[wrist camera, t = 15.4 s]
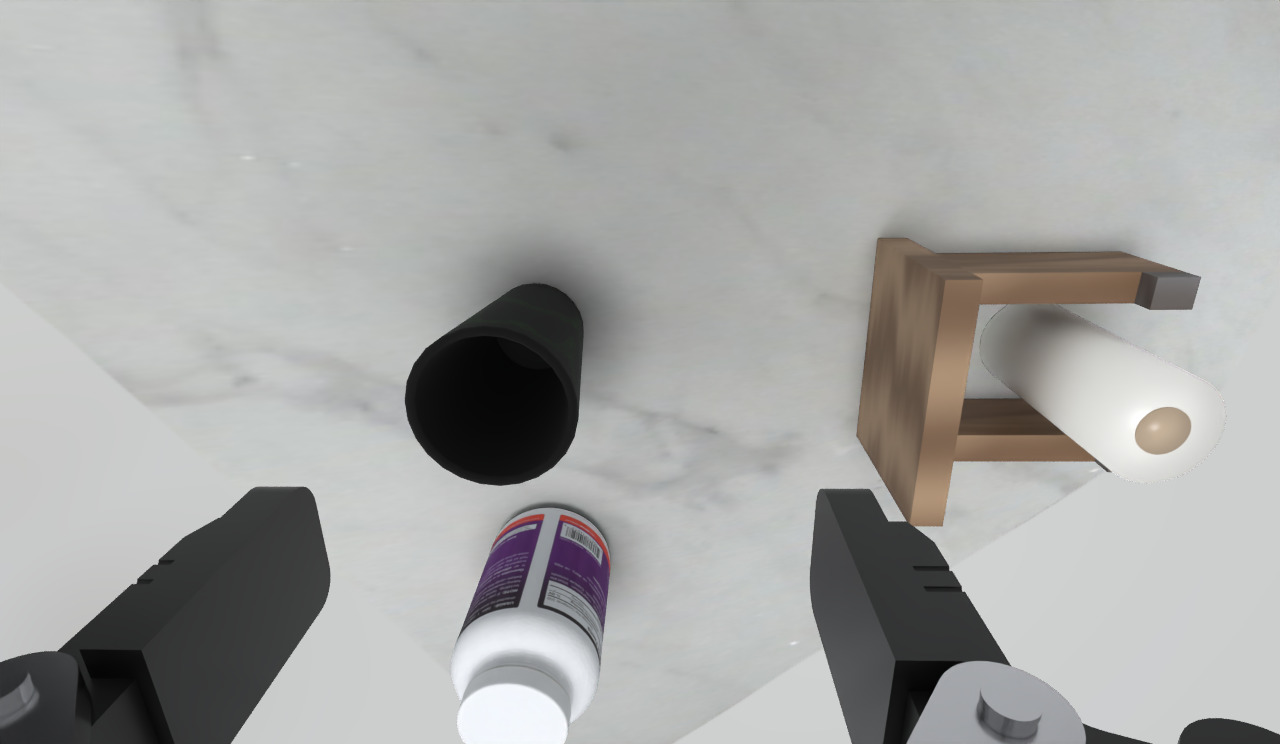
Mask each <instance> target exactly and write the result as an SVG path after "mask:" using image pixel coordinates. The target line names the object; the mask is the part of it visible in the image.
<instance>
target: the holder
mask: <svg viewBox="0 0 1280 744" xmlns="http://www.w3.org/2000/svg"><path fill="white" fill-rule="evenodd" d="M1200 279H1201V277H1199V276H1196V275H1193V274H1190V273H1186V272H1183V271H1180V270H1177V269H1174V268H1171V267H1168V266H1164V265H1161V264H1158V263H1155V262H1152V261H1149V260H1146V259H1142V258H1139V257H1136V256H1133V255H1130V254H1127V253H1124V252H1035V253H938V254H935V253H933V252H931V251H930V250H928V249H926V248H924V247H922V246H920V245H919V244H917V243H915V242H913V241H911V240H909V239H907V238H878V241H877V250H876V260H875V269H874V278H873V288H872V297H871V306H870V315H869V325H868V334H867V343H866V353H865V362H864V371H863V381H862V390H861V399H860V409H859V418H858V427H857V437H858V439H859V441H860V442H861V444H862V446H863V448H864V449H865V451H866V453H867V454H868V456H869V458H870V459H871V461H872V463H873V465H874V466H875V468H876V470H877V471H878V473H879V475H880V477H881V478H882V480H883V482H884V483H885V485H886V487H887V488H888V490H889V492H890V494H891V495H892V497H893V499H894V500H895V502H896V504H897V506H898V507H899V509H900V511H901V512H902V514H903V516H904V517H905V519H906V521H907V522H908V523H910V524H911V525H912V526H943V520H944V514H945V508H946V502H947V496H948V490H949V484H950V478H951V472H952V466H953V461H1095V462H1096V463H1097V464H1098V465H1100V466H1101V467H1102V468H1103V469H1104V470H1106V471H1107V472H1112V471H1110V470H1109V469H1108V468H1107V467H1105V466H1104V465H1103V464H1102V463H1101V462H1099V461H1098V460H1097V459H1096V458H1094V457H1093V456H1092V455H1091V454H1090V453H1088V452H1087V451H1086V450H1085V449H1083V448H1082V447H1081V446H1080V445H1079V444H1077V443H1076V442H1075V441H1074V440H1072V439H1071V438H1070V437H1069V436H1067V435H1066V434H1065V433H1064V432H1063V431H1061V430H1060V429H1059V428H1058V427H1056V426H1055V425H1054V424H1053V423H1052V422H1050V421H1049V420H1048V419H1047V418H1045V417H1044V416H1043V415H1042V414H1041V413H1039V412H1038V411H1037V410H1036V409H1034V408H1033V407H1032V406H1031V405H1029V404H1028V403H1027V402H1026V401H1025V400H1023V399H964V394H965V388H966V382H967V376H968V370H969V364H970V358H971V352H972V346H973V340H974V334H975V328H976V322H977V316H978V310H979V304H1096V303H1135V304H1137V305H1140V306H1142V307H1144V308H1147V309H1149V310H1188V309H1192V308H1193V304H1194V301H1195V297H1196V294H1197V290H1198V287H1199V283H1200Z"/></svg>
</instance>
